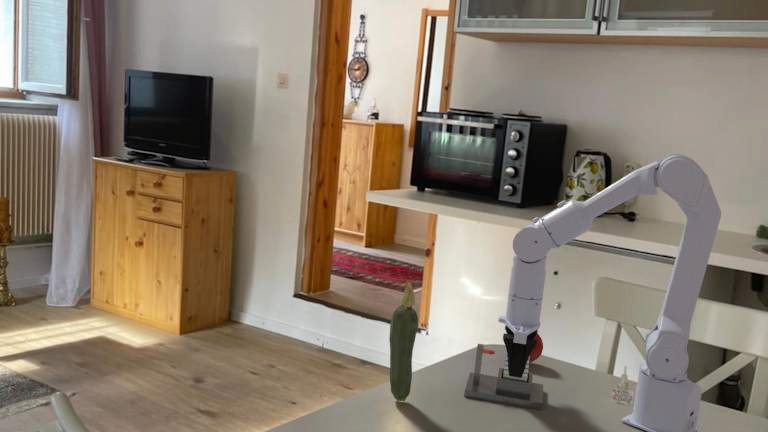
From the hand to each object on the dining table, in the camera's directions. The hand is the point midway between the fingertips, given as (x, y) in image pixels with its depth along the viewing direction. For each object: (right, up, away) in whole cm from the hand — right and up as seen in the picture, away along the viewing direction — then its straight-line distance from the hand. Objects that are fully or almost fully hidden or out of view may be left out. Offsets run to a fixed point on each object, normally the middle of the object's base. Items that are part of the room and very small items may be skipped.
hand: (515, 371), depth 127 cm
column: (0, -3, 0) cm, 3 cm away
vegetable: (-21, -4, -8) cm, 22 cm away
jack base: (-2, -4, +1) cm, 4 cm away
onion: (+5, -2, +18) cm, 18 cm away
